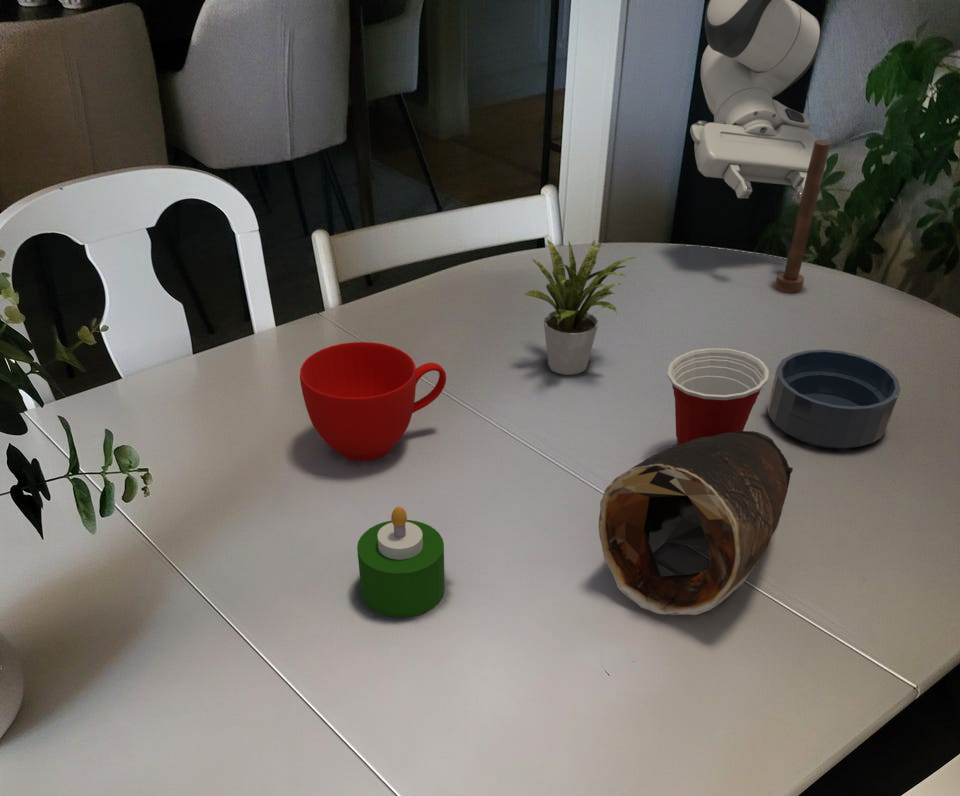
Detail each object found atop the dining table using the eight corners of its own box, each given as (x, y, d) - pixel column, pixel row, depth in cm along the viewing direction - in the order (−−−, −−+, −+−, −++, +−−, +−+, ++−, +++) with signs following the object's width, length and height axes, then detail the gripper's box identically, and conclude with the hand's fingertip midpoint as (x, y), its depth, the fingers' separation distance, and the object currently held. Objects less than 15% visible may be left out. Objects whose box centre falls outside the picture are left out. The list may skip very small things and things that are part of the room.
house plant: (619, 402, 123) (635, 276, 112) (511, 391, 125) (516, 266, 114) (626, 349, 134) (641, 229, 122) (526, 340, 135) (532, 220, 124)
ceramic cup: (466, 456, 114) (466, 378, 107) (326, 486, 109) (317, 408, 102) (427, 402, 123) (425, 328, 116) (296, 429, 118) (286, 353, 111)
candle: (343, 591, 96) (334, 509, 90) (401, 552, 101) (396, 471, 94) (404, 629, 93) (400, 546, 86) (461, 586, 97) (461, 504, 90)
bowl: (857, 390, 126) (870, 347, 122) (904, 449, 116) (920, 405, 112) (751, 395, 125) (761, 352, 121) (790, 456, 115) (802, 411, 111)
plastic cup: (649, 435, 118) (663, 343, 110) (739, 437, 118) (759, 345, 109) (658, 487, 110) (674, 392, 102) (754, 489, 110) (778, 394, 102)
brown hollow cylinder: (845, 410, 100) (756, 482, 82) (816, 546, 108) (729, 639, 90) (709, 385, 107) (600, 447, 89) (691, 514, 115) (588, 595, 97)
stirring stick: (796, 281, 150) (831, 137, 136) (805, 292, 147) (842, 146, 133) (771, 282, 150) (803, 138, 136) (780, 293, 147) (814, 147, 133)
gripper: (697, 101, 140) (721, 173, 136) (817, 117, 147) (844, 186, 142) (678, 138, 146) (700, 209, 141) (794, 151, 152) (819, 219, 147)
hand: (773, 197), depth 141 cm, fingers open, 8 cm apart
